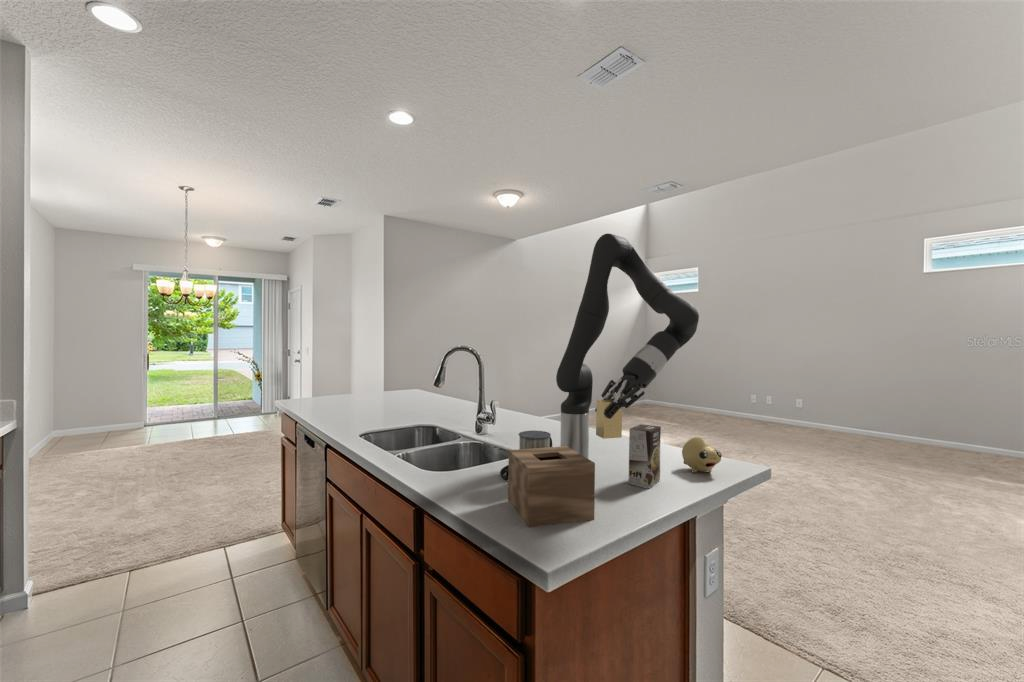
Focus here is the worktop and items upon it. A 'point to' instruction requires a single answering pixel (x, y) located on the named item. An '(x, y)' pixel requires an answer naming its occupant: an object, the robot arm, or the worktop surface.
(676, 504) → the worktop surface
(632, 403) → the robot arm
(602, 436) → the yellow rectangular block
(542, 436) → the milk frother
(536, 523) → the coin box
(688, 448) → the yellow creature figurine
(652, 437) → the coffee box
